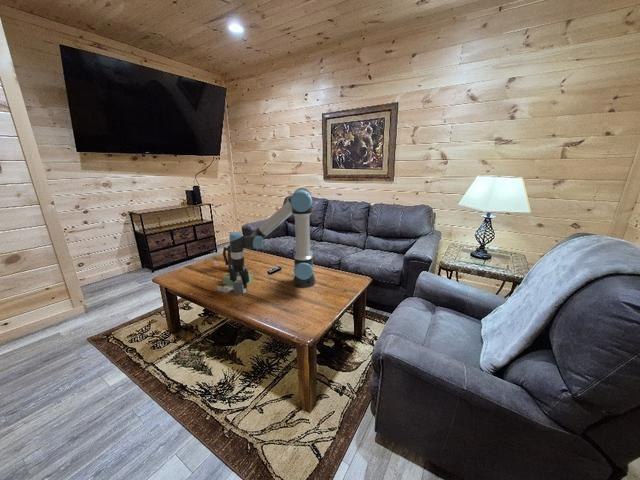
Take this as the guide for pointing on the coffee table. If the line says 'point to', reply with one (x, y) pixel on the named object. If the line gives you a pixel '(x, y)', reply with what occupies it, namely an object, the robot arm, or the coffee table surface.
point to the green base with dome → (231, 282)
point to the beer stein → (228, 262)
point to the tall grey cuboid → (238, 287)
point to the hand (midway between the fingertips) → (240, 291)
